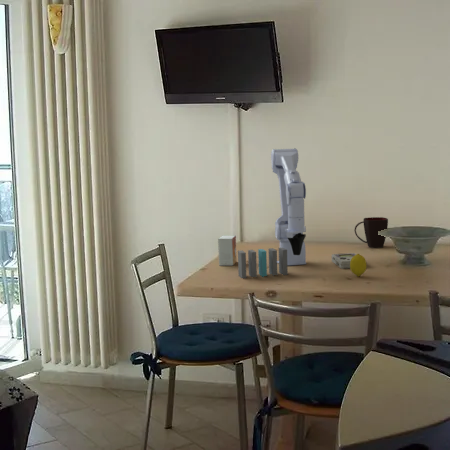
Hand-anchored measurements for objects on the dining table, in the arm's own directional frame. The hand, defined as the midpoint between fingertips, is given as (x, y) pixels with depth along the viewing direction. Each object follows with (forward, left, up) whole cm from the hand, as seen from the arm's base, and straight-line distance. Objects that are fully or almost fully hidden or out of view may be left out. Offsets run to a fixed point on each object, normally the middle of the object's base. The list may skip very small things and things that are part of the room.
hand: (296, 254), depth 244 cm
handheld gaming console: (-22, -7, -7) cm, 24 cm away
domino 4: (+5, 0, -6) cm, 8 cm away
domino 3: (+9, 0, -6) cm, 11 cm away
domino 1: (+20, 0, -6) cm, 21 cm away
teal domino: (+13, 0, -6) cm, 14 cm away
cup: (-45, -37, -7) cm, 59 cm away
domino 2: (+16, 0, -6) cm, 18 cm away
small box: (+20, -25, -7) cm, 32 cm away
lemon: (-17, +14, -7) cm, 23 cm away
